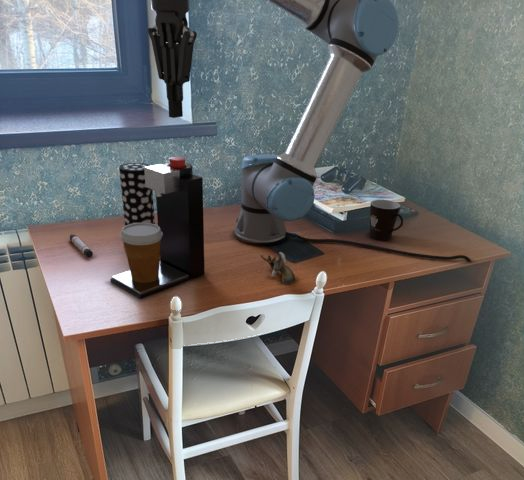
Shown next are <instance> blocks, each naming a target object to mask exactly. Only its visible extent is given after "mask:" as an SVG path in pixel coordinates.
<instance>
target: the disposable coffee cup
mask: <svg viewBox="0 0 524 480" xmlns="http://www.w3.org/2000/svg"><path fill="white" fill-rule="evenodd" d="M119 236H120V239H121V241H122V243H123V246H124V250H125V251H124V252H125V256H126V259H127V263H128V267H129V271H130V272H131V276H132V279H133V280H134V281H136V282H141V283H147V282H152V281H155V280H156V279H158V277H159V261H160V245H161V238H162V236H163V233H162V232H161V230H160V227H159V226H158V224H156V223H155V224H152V223H133V224H129V225H126V226H125V225H124V226H123V227H122V228H121V232H120V233H119Z"/></svg>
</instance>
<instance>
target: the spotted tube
mask: <svg viewBox="0 0 524 480" xmlns="http://www.w3.org/2000/svg"><path fill="white" fill-rule="evenodd" d="M147 166H151V164H148V163H144V162H128V163H123V164H120V165H119V166H118V169H119V180H120V181H119V182H120V190H121V191H120V192H121V200H122V210H123V211H122V212H123V217H124V218H123V220H124V226H126V225H129V224H133V223H152V224H155V225H156V220H155V205H154V203H155V202H154V190H152V189H150V188H147V187H146V184H145V171H144V167H147Z"/></svg>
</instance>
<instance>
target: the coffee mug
mask: <svg viewBox="0 0 524 480" xmlns="http://www.w3.org/2000/svg"><path fill="white" fill-rule="evenodd" d="M369 206H370V207H369V208H370V211H369V234H368V235H369V238H370V239H372V240H374V241H381V242H383V241H389V240H391V238H392V235H393V232H394V231H397V230H400V229H401V227H403V224H404V218H403V216H402V214H399V213H400V209H401V204H400V203H399V202H397V201H394V200H389V199H374V200H372V201H370V205H369ZM398 218H399V219H400V224H399V226H397V227H396V228H395V225H396V221H397V219H398Z"/></svg>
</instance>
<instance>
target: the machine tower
mask: <svg viewBox="0 0 524 480" xmlns="http://www.w3.org/2000/svg"><path fill="white" fill-rule="evenodd" d="M185 164H186V167H183V168H174V169H177V170H180V191H176V192H172V193H168V194H164V196H162V197H157V196H155V204H156V215H157V217H156V218H157V225H158V226H159V227H160V230H161V232H162V233H163V236H162V238H161V245H160V260H159V261H161V262H163V263H165V264H167V265H169V266H171V267H173V268H175V269H177V270H179V271H182V272H184V273H186V274H188V276H190V277H191V280H190V281H192V280H195V279H198V278H201V277H203V276H205V275H206V274H205V273H206V272H205V234H204V233H205V231H204V230H205V229H204V224H205V223H204V183H203V181H204V180H203V179H204V178H203V177H202V176H199V175H196V174H193V173H194V171H193V165H192V164H191V163H189V162H185ZM163 165H164V166H167V167H168V168H169V167H170V164H169V162H166V163H164V164H163ZM171 168H172V167H171Z"/></svg>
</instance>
